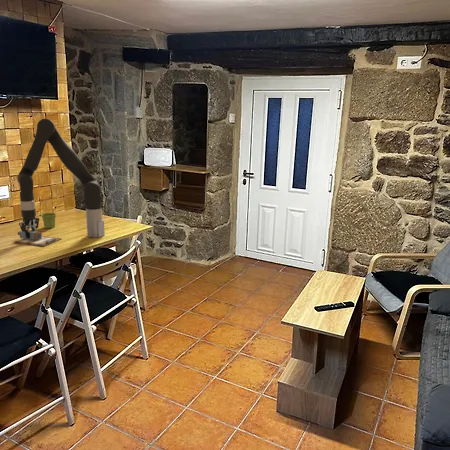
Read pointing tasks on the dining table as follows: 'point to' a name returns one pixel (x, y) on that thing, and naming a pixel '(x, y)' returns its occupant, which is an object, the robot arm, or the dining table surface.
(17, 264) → the dining table surface
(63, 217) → the dining table surface
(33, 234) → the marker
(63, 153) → the robot arm
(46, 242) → the clipboard
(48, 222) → the plant pot
